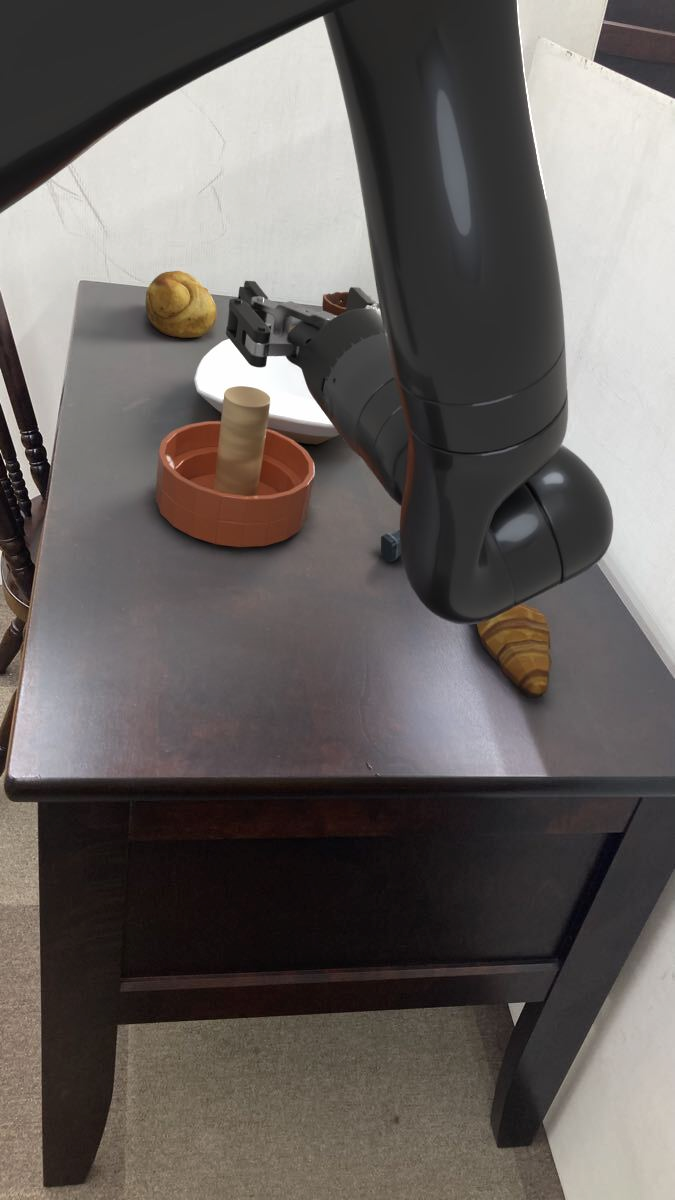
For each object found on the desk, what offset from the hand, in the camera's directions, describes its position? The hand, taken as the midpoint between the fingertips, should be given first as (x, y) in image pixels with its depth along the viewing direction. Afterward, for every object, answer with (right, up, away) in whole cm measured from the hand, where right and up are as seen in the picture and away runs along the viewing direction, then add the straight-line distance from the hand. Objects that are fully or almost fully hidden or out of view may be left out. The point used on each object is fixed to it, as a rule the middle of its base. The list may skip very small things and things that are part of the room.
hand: (300, 296), depth 69 cm
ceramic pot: (+3, +14, +63) cm, 65 cm away
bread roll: (-20, +16, +59) cm, 64 cm away
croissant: (+18, -28, +12) cm, 36 cm away
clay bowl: (-8, -14, +23) cm, 28 cm away
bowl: (-4, -1, +41) cm, 42 cm away
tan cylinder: (-8, -14, +22) cm, 27 cm away
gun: (+13, -18, +25) cm, 33 cm away
